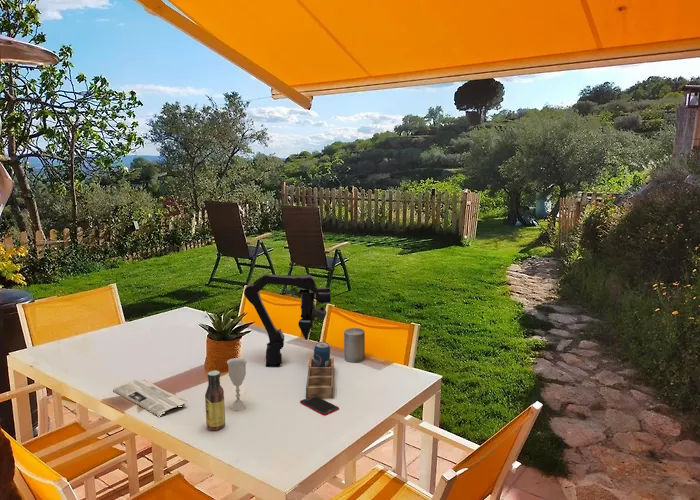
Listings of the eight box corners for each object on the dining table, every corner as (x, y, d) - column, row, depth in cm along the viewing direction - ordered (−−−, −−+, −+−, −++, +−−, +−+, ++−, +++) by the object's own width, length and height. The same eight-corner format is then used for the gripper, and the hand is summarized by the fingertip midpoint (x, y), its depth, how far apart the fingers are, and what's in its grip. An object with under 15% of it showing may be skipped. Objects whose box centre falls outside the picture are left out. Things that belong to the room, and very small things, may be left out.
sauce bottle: (208, 422, 174) (206, 368, 171) (226, 421, 174) (224, 368, 171) (204, 432, 167) (202, 376, 164) (223, 431, 168) (221, 375, 165)
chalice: (251, 405, 187) (250, 359, 184) (242, 413, 180) (240, 366, 178) (234, 402, 189) (233, 357, 186) (224, 410, 183) (223, 363, 180)
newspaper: (113, 392, 198) (112, 384, 197) (142, 382, 207) (142, 374, 207) (161, 420, 176) (161, 410, 175) (192, 407, 186) (191, 398, 185)
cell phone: (314, 397, 195) (314, 395, 194) (340, 410, 184) (340, 407, 184) (298, 403, 189) (298, 401, 189) (324, 417, 179) (324, 414, 179)
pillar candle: (365, 355, 238) (365, 325, 236) (363, 363, 228) (363, 331, 226) (345, 355, 239) (344, 325, 237) (342, 362, 229) (342, 331, 227)
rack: (305, 398, 192) (305, 386, 191) (309, 368, 222) (309, 357, 221) (333, 398, 193) (333, 386, 192) (333, 368, 222) (333, 357, 222)
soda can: (309, 369, 217) (311, 344, 214) (321, 364, 222) (322, 339, 219) (320, 375, 212) (321, 349, 209) (332, 370, 217) (333, 345, 214)
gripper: (324, 309, 214) (323, 343, 217) (326, 298, 233) (326, 330, 235) (298, 308, 215) (298, 343, 217) (303, 297, 233) (302, 329, 235)
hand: (307, 336), depth 226 cm, fingers open, 9 cm apart
